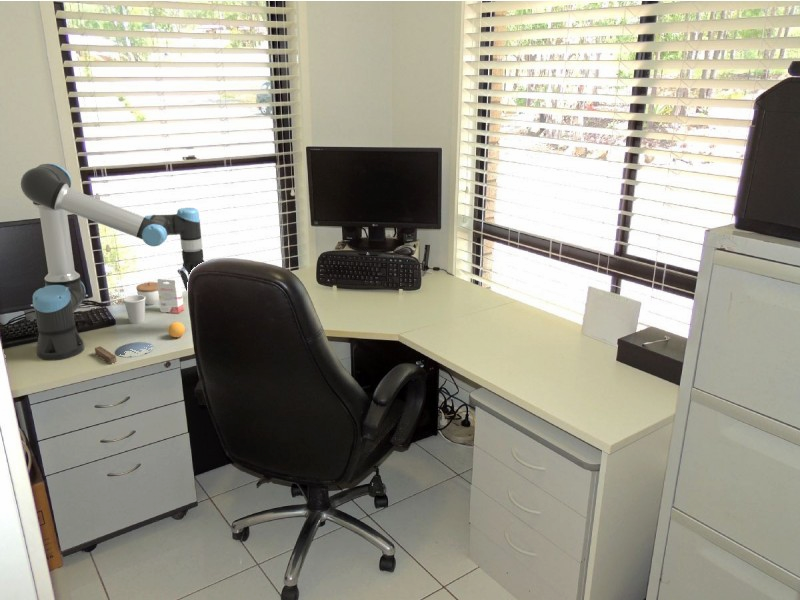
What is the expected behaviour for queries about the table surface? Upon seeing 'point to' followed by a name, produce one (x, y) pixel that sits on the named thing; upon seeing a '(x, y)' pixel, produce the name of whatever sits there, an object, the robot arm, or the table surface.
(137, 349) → the slate mark
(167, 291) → the ink cartridge box
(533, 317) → the table surface
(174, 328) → the ball
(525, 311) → the table surface
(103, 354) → the strip
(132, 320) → the dixie cup
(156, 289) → the lidded jar
